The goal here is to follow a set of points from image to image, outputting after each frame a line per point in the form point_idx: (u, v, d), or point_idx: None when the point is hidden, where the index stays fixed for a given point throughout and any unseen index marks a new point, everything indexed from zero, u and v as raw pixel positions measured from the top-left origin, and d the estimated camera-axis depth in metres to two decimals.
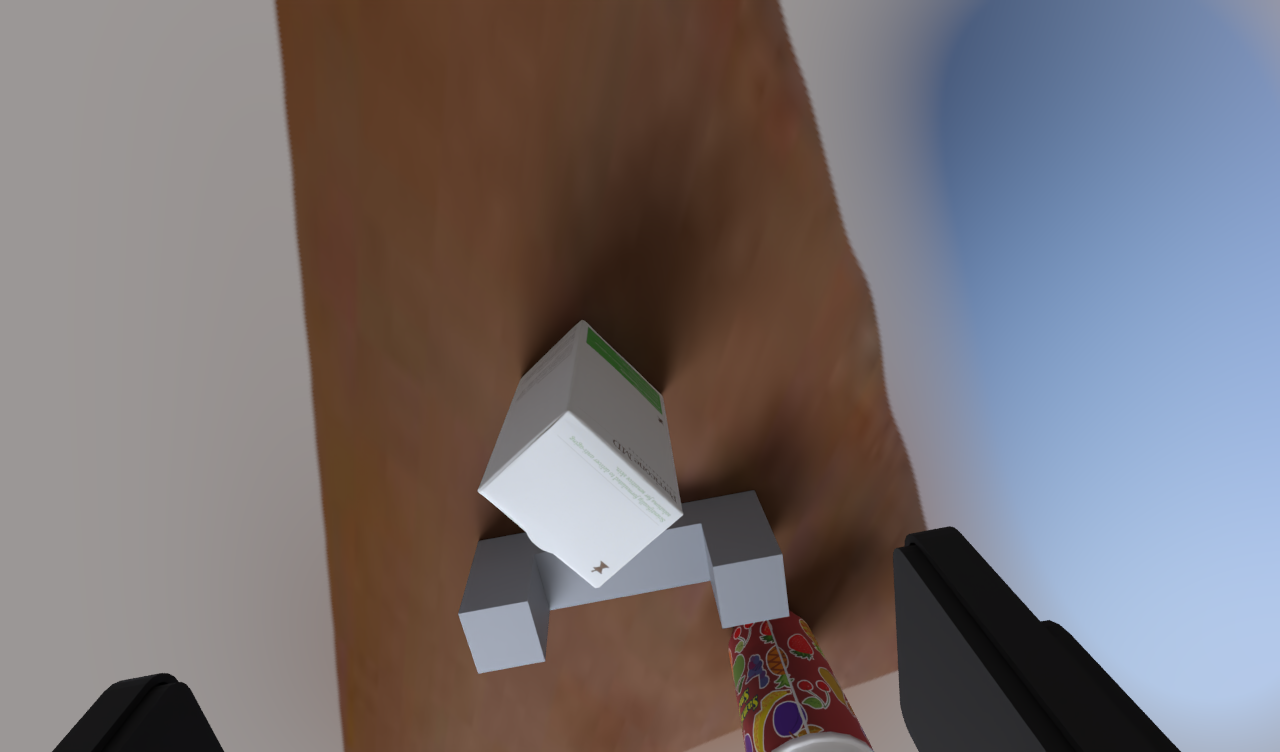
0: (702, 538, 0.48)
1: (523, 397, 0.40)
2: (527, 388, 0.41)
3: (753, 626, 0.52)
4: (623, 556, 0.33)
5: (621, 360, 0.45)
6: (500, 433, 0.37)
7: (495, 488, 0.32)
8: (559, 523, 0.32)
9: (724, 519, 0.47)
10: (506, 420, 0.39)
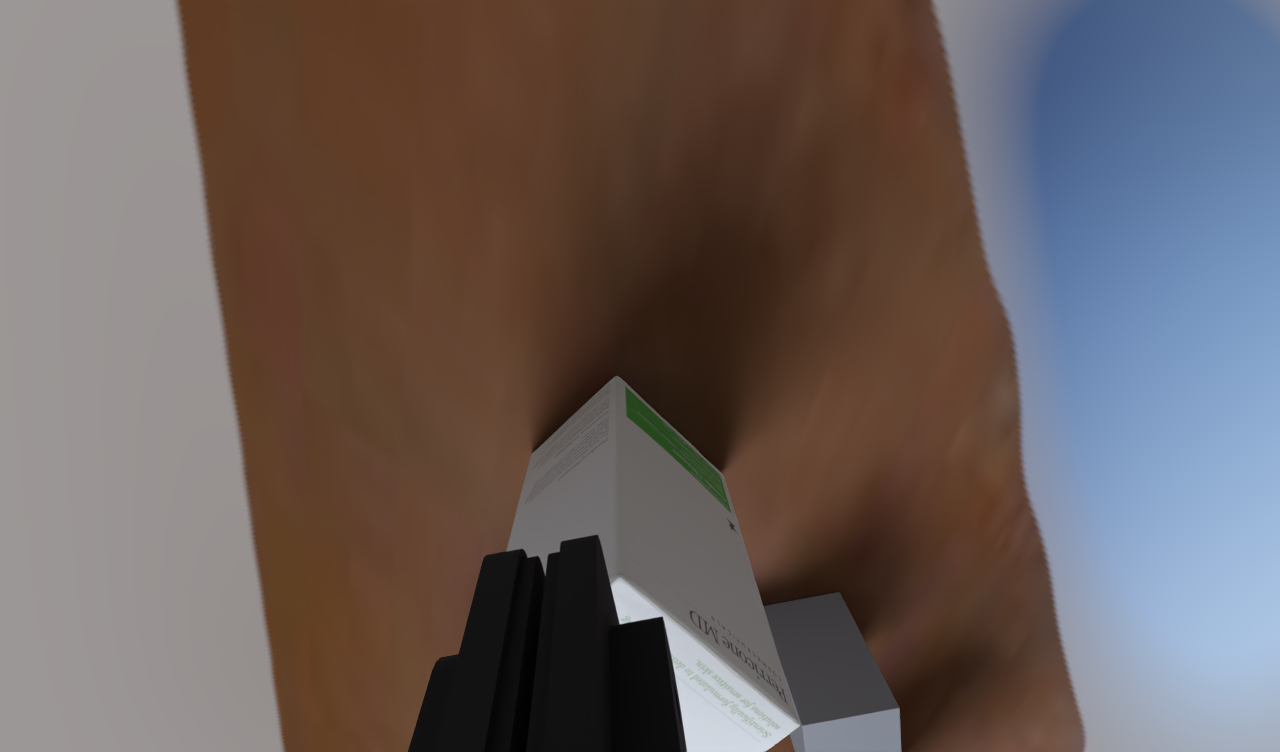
0: None
1: (537, 499, 0.27)
2: (542, 482, 0.28)
3: None
4: None
5: (671, 432, 0.32)
6: None
7: None
8: None
9: (806, 641, 0.35)
10: (513, 537, 0.26)
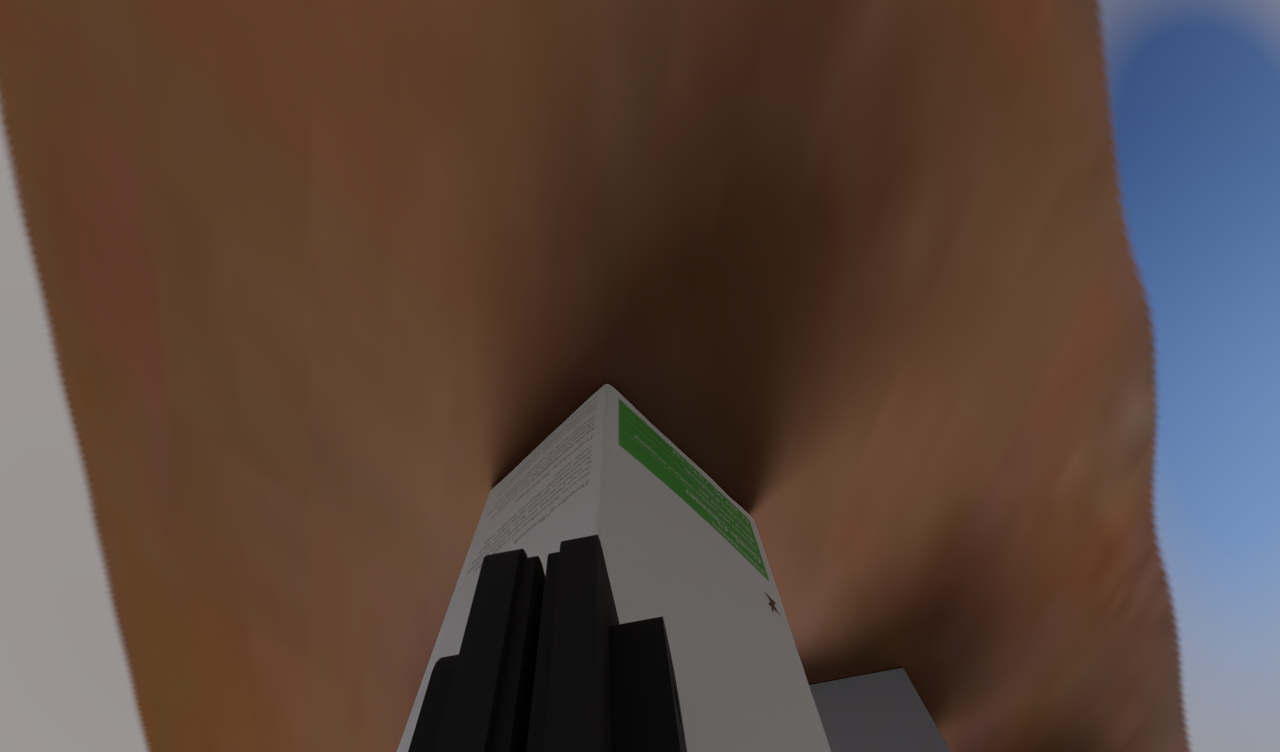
0: None
1: None
2: (495, 542, 0.19)
3: None
4: None
5: (682, 463, 0.23)
6: (423, 682, 0.16)
7: None
8: None
9: (865, 742, 0.26)
10: (443, 632, 0.17)
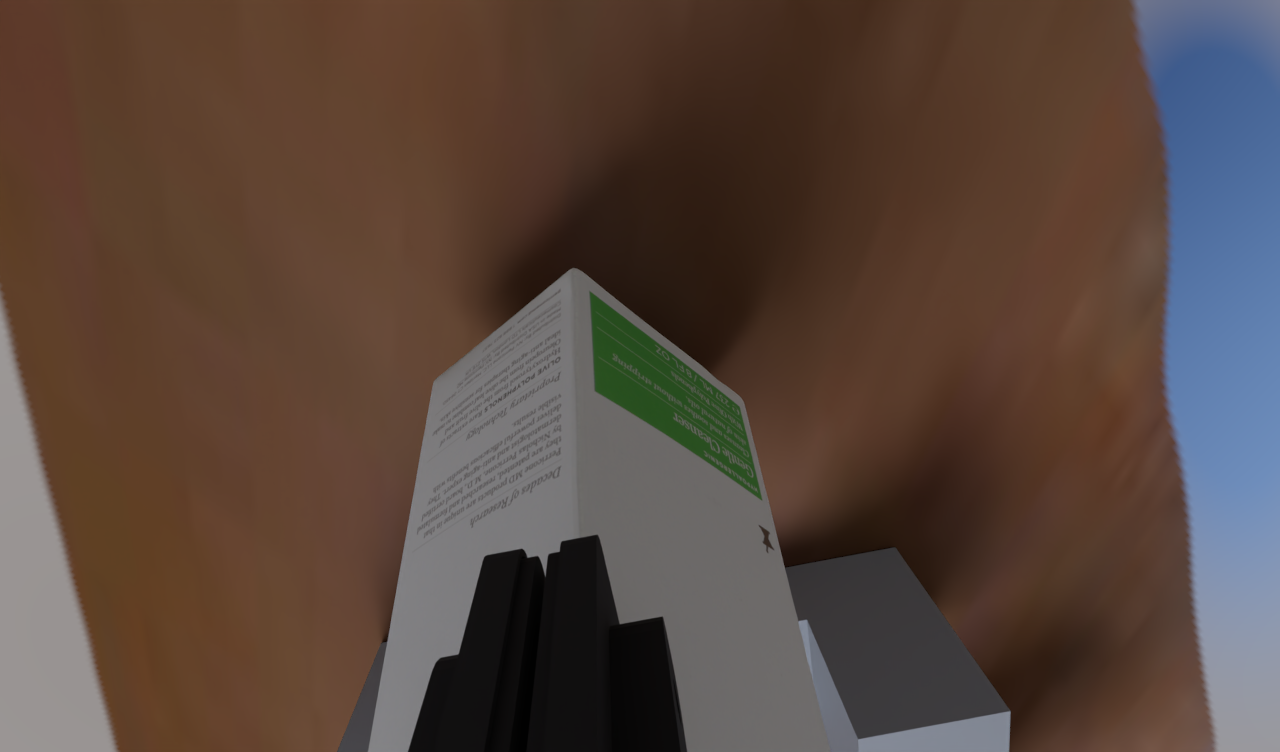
0: (807, 647, 0.25)
1: (436, 547, 0.15)
2: (446, 499, 0.16)
3: None
4: None
5: (668, 363, 0.19)
6: (380, 698, 0.14)
7: None
8: None
9: (854, 613, 0.24)
10: (396, 624, 0.15)
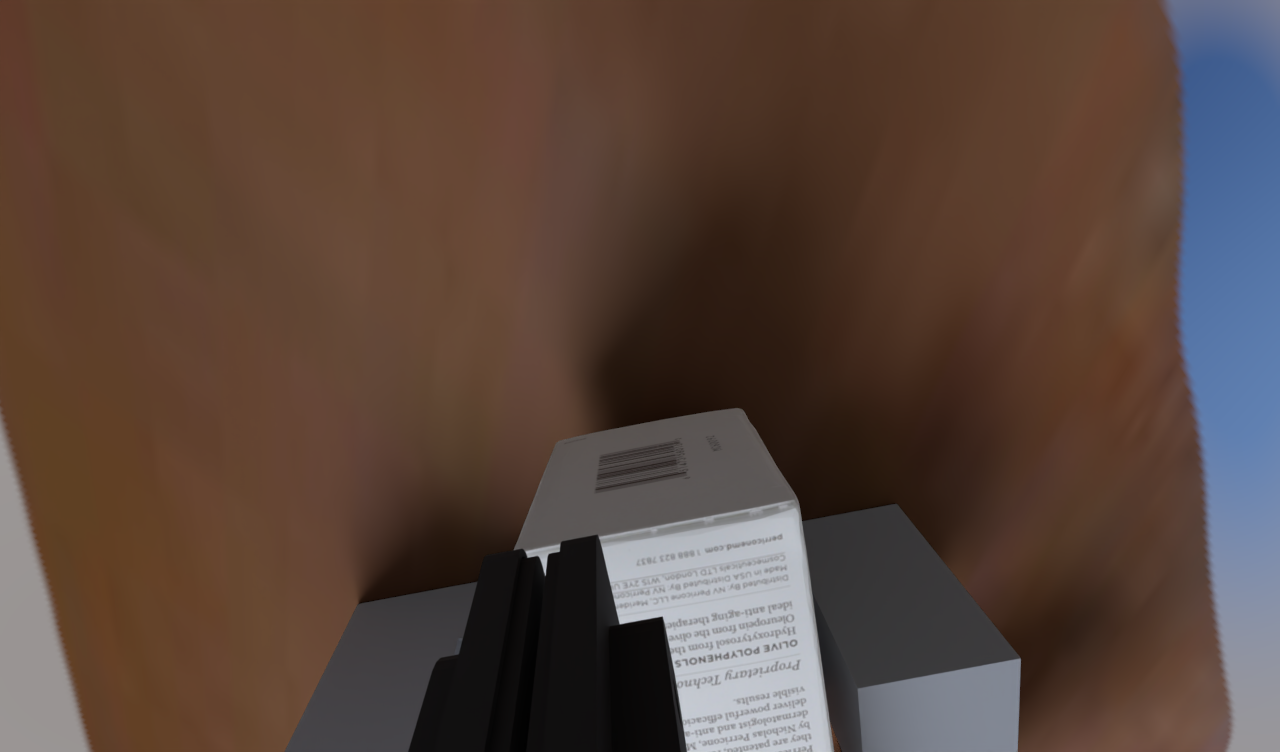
0: None
1: None
2: None
3: None
4: None
5: None
6: None
7: None
8: None
9: (854, 567, 0.23)
10: None
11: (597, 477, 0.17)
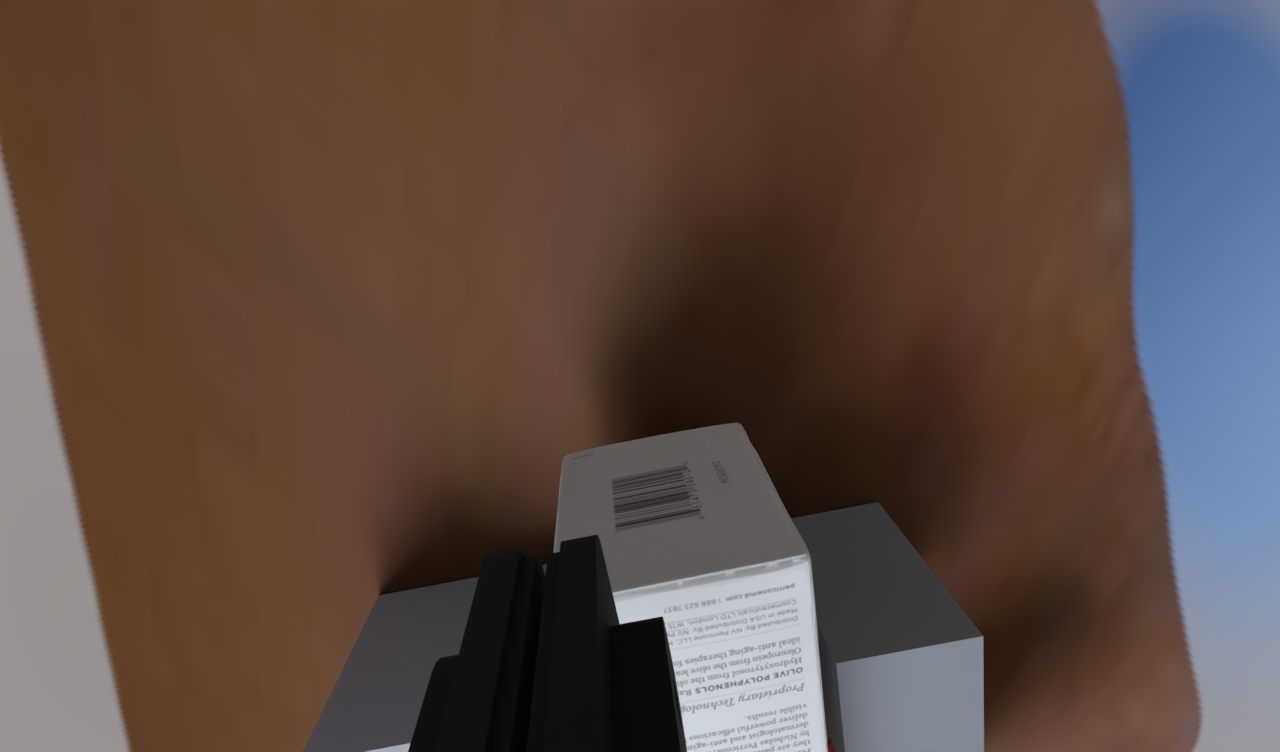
0: None
1: None
2: None
3: None
4: None
5: None
6: None
7: None
8: None
9: (836, 558, 0.25)
10: None
11: (614, 509, 0.19)
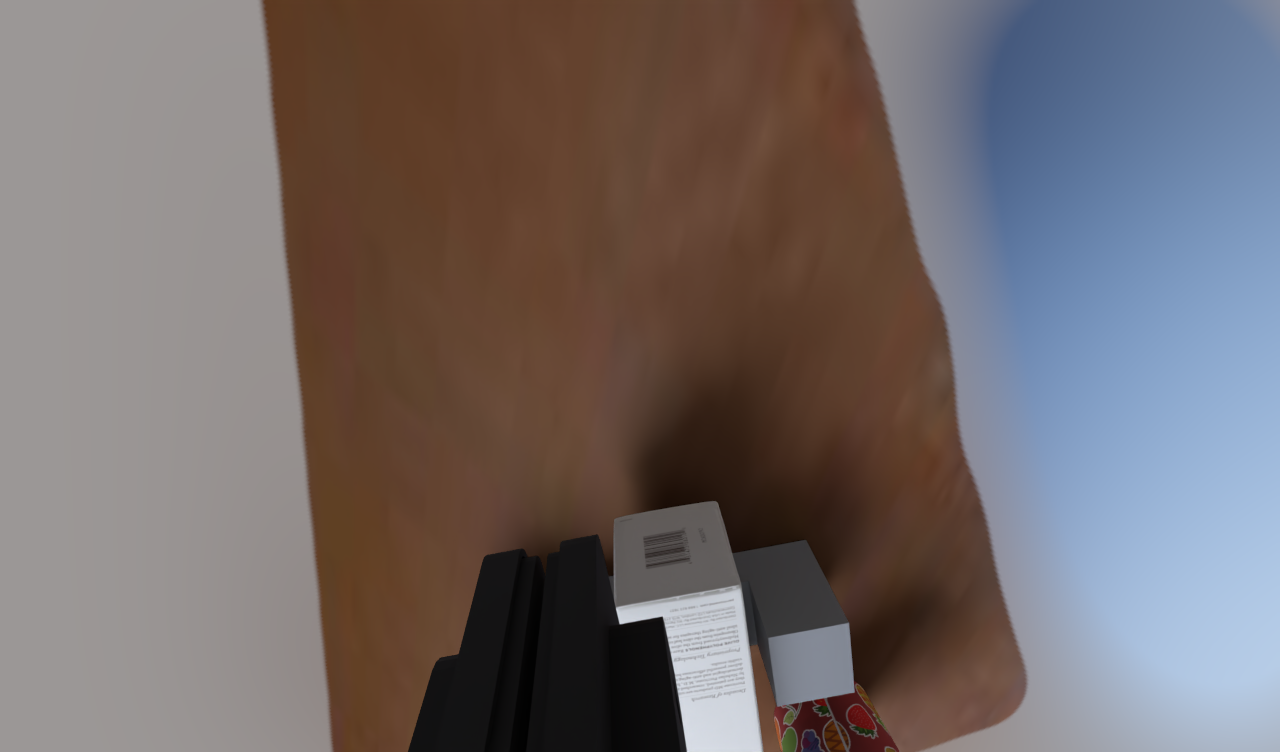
0: (749, 597, 0.42)
1: None
2: None
3: None
4: None
5: None
6: None
7: None
8: None
9: (775, 577, 0.41)
10: None
11: (645, 556, 0.35)
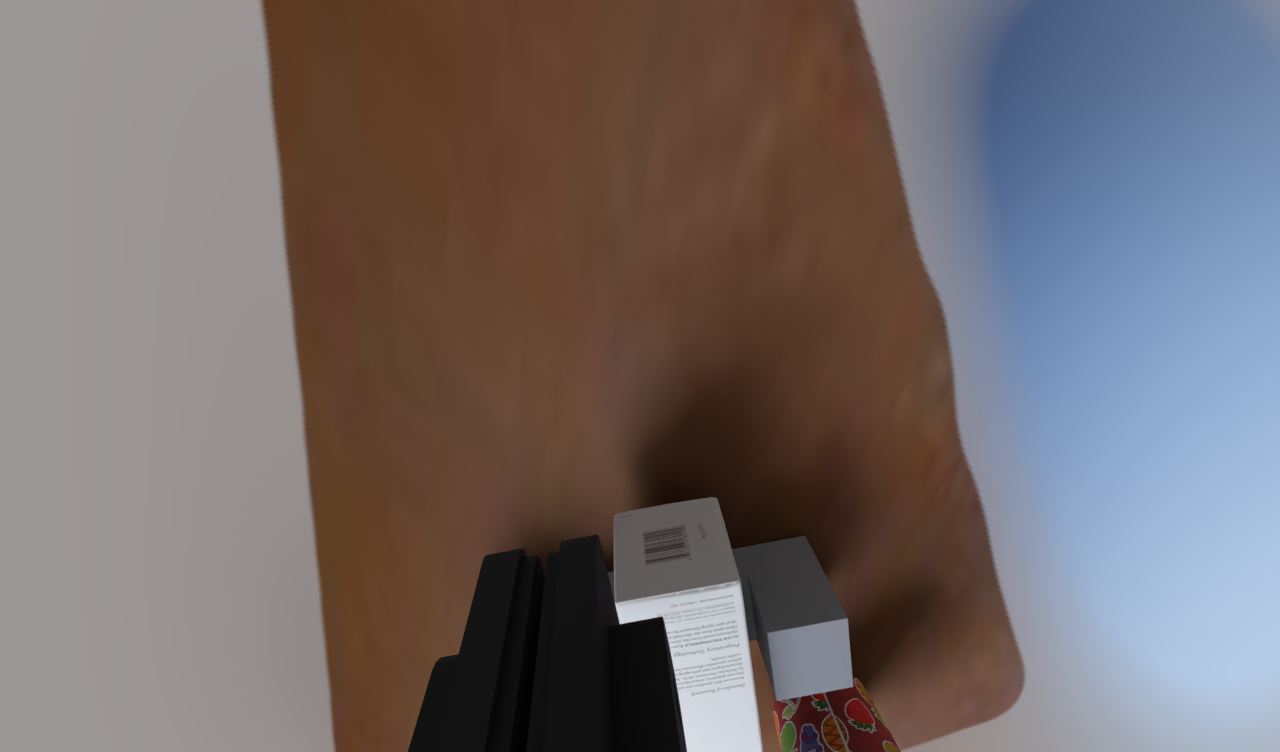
0: (749, 593, 0.42)
1: None
2: None
3: None
4: None
5: None
6: None
7: None
8: None
9: (775, 572, 0.41)
10: None
11: (645, 552, 0.35)
